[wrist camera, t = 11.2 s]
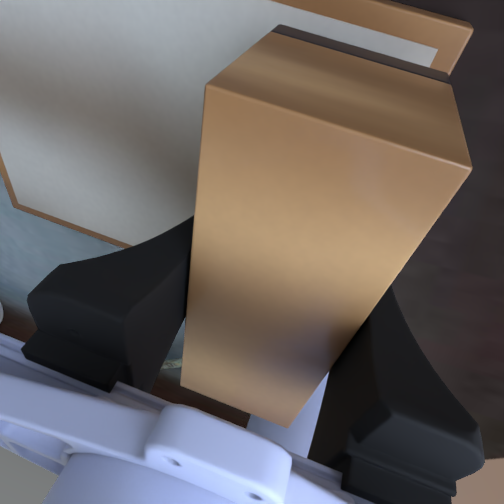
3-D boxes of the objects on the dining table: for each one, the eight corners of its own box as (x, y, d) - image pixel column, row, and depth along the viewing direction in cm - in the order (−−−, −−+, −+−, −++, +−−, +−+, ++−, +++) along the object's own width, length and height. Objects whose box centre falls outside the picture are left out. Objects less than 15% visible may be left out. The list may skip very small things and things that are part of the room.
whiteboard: (319, 308, 22) (316, 322, 21) (23, 200, 23) (11, 208, 23) (471, 22, 11) (476, 29, 10) (-90, -135, 13) (-119, -137, 12)
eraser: (312, 327, 19) (287, 429, 15) (224, 294, 20) (179, 385, 16) (449, 72, 10) (475, 169, 6) (278, 22, 11) (203, 83, 7)
